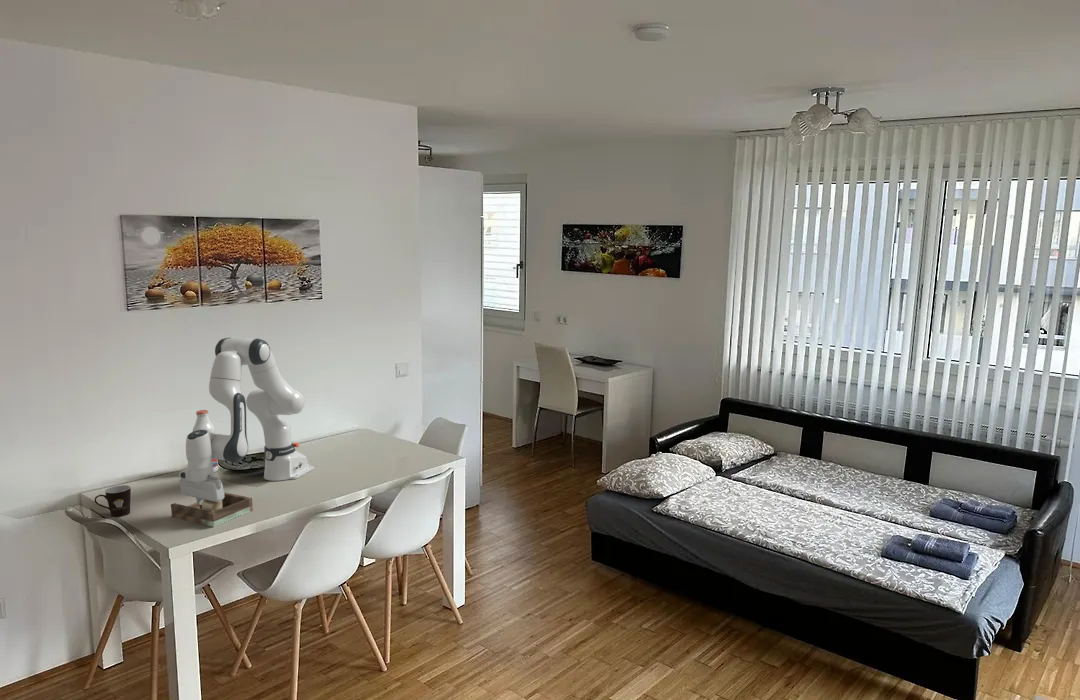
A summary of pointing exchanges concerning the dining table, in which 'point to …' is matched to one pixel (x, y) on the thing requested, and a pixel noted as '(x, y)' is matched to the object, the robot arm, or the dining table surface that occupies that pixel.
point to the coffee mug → (117, 500)
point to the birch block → (211, 505)
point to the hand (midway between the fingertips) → (203, 508)
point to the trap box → (230, 510)
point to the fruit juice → (205, 428)
